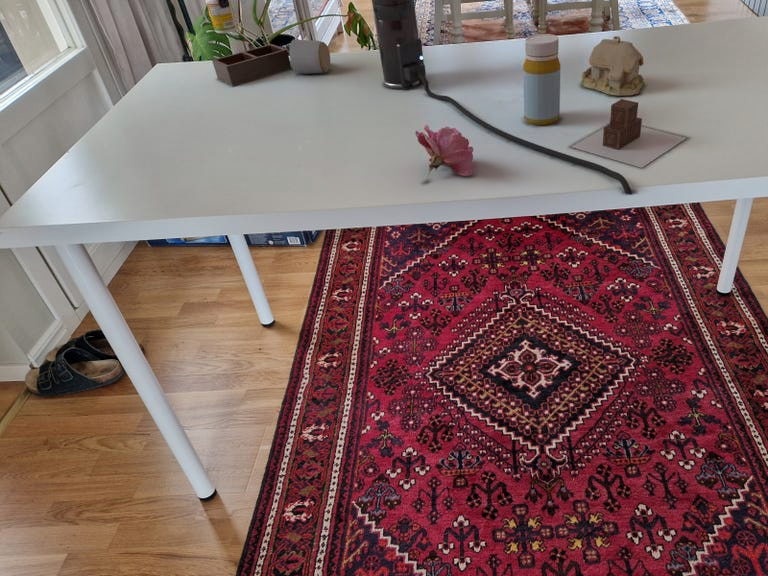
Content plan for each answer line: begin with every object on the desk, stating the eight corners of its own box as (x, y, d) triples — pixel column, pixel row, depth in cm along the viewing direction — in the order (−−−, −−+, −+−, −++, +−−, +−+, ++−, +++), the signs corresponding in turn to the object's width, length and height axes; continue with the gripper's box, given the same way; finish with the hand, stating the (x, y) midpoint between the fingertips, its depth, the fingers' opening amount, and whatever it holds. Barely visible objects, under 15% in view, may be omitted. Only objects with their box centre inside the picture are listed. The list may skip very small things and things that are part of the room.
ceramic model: (653, 83, 139) (659, 33, 132) (630, 100, 133) (635, 48, 126) (595, 74, 146) (598, 26, 139) (571, 89, 139) (572, 40, 133)
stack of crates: (641, 167, 109) (646, 128, 105) (570, 147, 117) (572, 109, 113) (686, 138, 117) (692, 100, 112) (617, 120, 125) (620, 84, 120)
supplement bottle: (221, 27, 156) (207, -18, 149) (242, 27, 155) (228, -19, 148) (211, 34, 152) (196, -13, 145) (232, 33, 151) (218, -14, 144)
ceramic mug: (325, 76, 157) (318, 43, 152) (293, 77, 158) (285, 44, 153) (337, 63, 165) (331, 31, 160) (307, 64, 166) (300, 32, 161)
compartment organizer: (291, 68, 164) (287, 49, 161) (232, 86, 156) (226, 66, 153) (275, 62, 169) (271, 43, 166) (217, 79, 161) (211, 60, 158)
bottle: (536, 129, 124) (535, 46, 114) (518, 118, 129) (516, 38, 119) (566, 120, 127) (568, 39, 117) (547, 110, 131) (547, 31, 121)
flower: (452, 172, 120) (480, 126, 115) (459, 200, 113) (489, 153, 108) (397, 145, 115) (424, 96, 109) (402, 173, 108) (431, 123, 102)
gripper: (223, -83, 136) (247, 6, 147) (196, -86, 144) (221, -2, 156) (189, -77, 133) (217, 13, 144) (164, -81, 141) (192, 4, 152)
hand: (219, 5), depth 150 cm, fingers closed on supplement bottle, 5 cm apart
